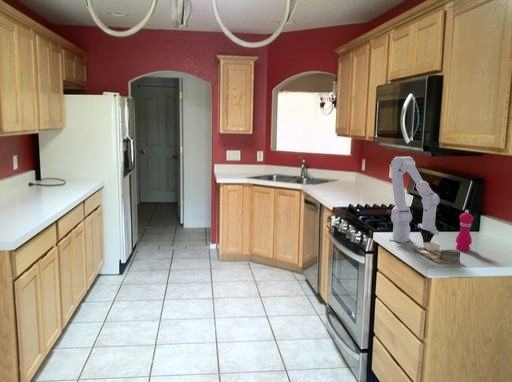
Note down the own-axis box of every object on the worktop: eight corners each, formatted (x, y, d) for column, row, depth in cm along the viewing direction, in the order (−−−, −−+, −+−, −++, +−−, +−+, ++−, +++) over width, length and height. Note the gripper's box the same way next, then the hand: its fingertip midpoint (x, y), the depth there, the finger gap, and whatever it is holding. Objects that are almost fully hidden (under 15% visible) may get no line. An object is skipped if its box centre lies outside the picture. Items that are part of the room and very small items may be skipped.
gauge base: (411, 249, 219) (412, 239, 218) (432, 248, 221) (433, 239, 220) (437, 263, 198) (438, 252, 198) (460, 262, 201) (461, 251, 200)
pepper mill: (465, 252, 217) (470, 212, 213) (451, 248, 223) (456, 209, 219) (473, 250, 221) (478, 210, 218) (459, 246, 227) (464, 207, 223)
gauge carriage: (416, 248, 216) (417, 242, 215) (434, 247, 218) (435, 242, 217) (421, 251, 212) (421, 245, 211) (439, 250, 214) (440, 244, 213)
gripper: (445, 221, 211) (442, 249, 213) (427, 215, 225) (425, 241, 227) (432, 222, 209) (429, 249, 212) (415, 215, 223) (412, 241, 226)
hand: (426, 245), depth 219 cm, fingers closed
